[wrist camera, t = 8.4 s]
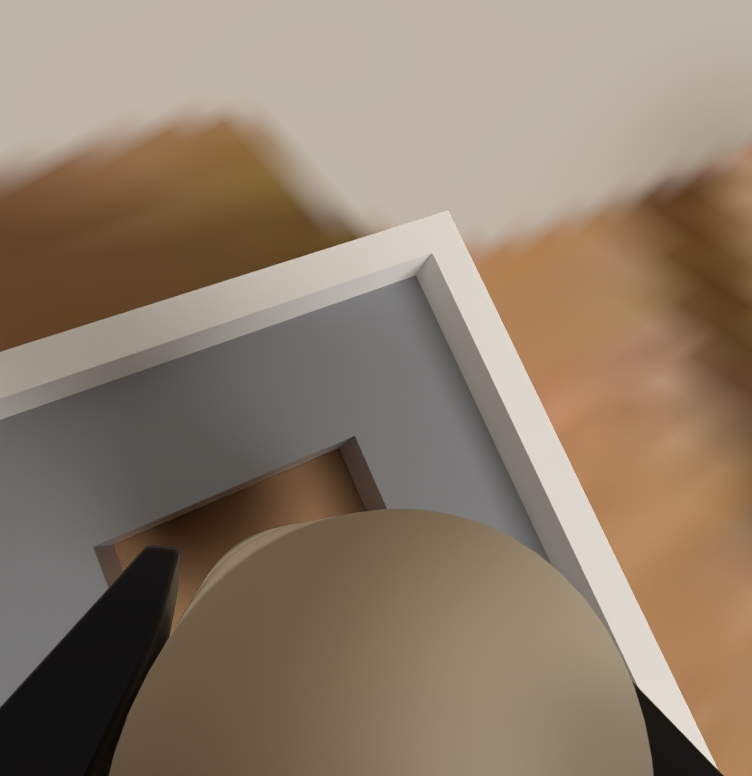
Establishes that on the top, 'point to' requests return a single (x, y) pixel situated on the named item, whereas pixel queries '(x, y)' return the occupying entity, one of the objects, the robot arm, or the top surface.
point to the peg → (386, 662)
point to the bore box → (290, 429)
